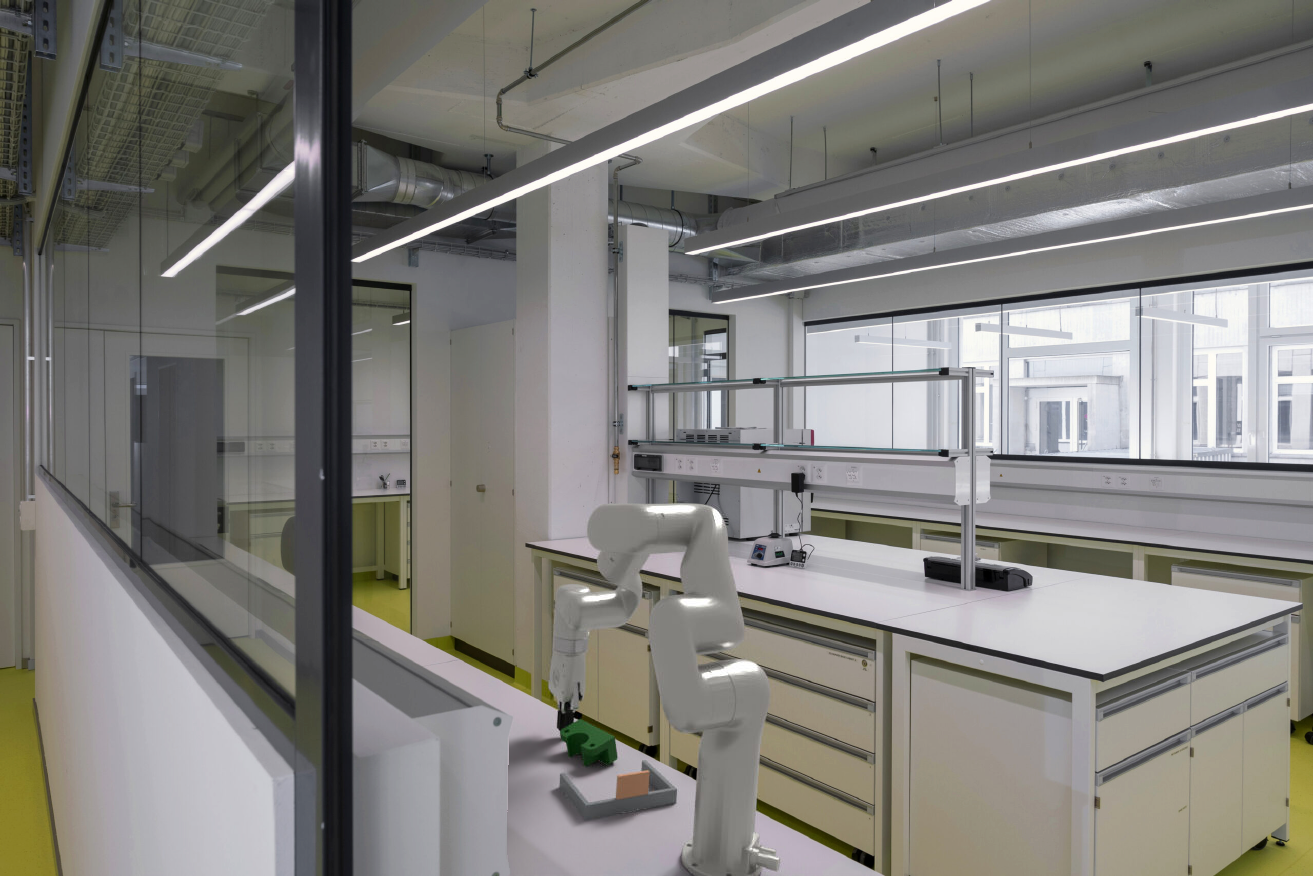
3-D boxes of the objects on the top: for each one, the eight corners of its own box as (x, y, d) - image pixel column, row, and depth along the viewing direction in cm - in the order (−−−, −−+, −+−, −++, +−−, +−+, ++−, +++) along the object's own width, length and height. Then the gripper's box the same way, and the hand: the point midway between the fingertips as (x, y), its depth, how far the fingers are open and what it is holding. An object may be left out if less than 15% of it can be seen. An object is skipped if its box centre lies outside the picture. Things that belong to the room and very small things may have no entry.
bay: (559, 787, 143) (561, 752, 143) (644, 772, 151) (646, 739, 151) (585, 820, 132) (587, 782, 132) (676, 803, 140) (678, 767, 140)
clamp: (568, 775, 158) (552, 732, 159) (591, 761, 162) (575, 719, 163) (600, 774, 149) (582, 729, 150) (623, 759, 153) (606, 715, 154)
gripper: (542, 635, 170) (536, 718, 171) (566, 655, 157) (560, 745, 158) (574, 633, 174) (569, 714, 174) (600, 652, 161) (594, 741, 161)
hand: (564, 729), depth 166 cm, fingers closed
